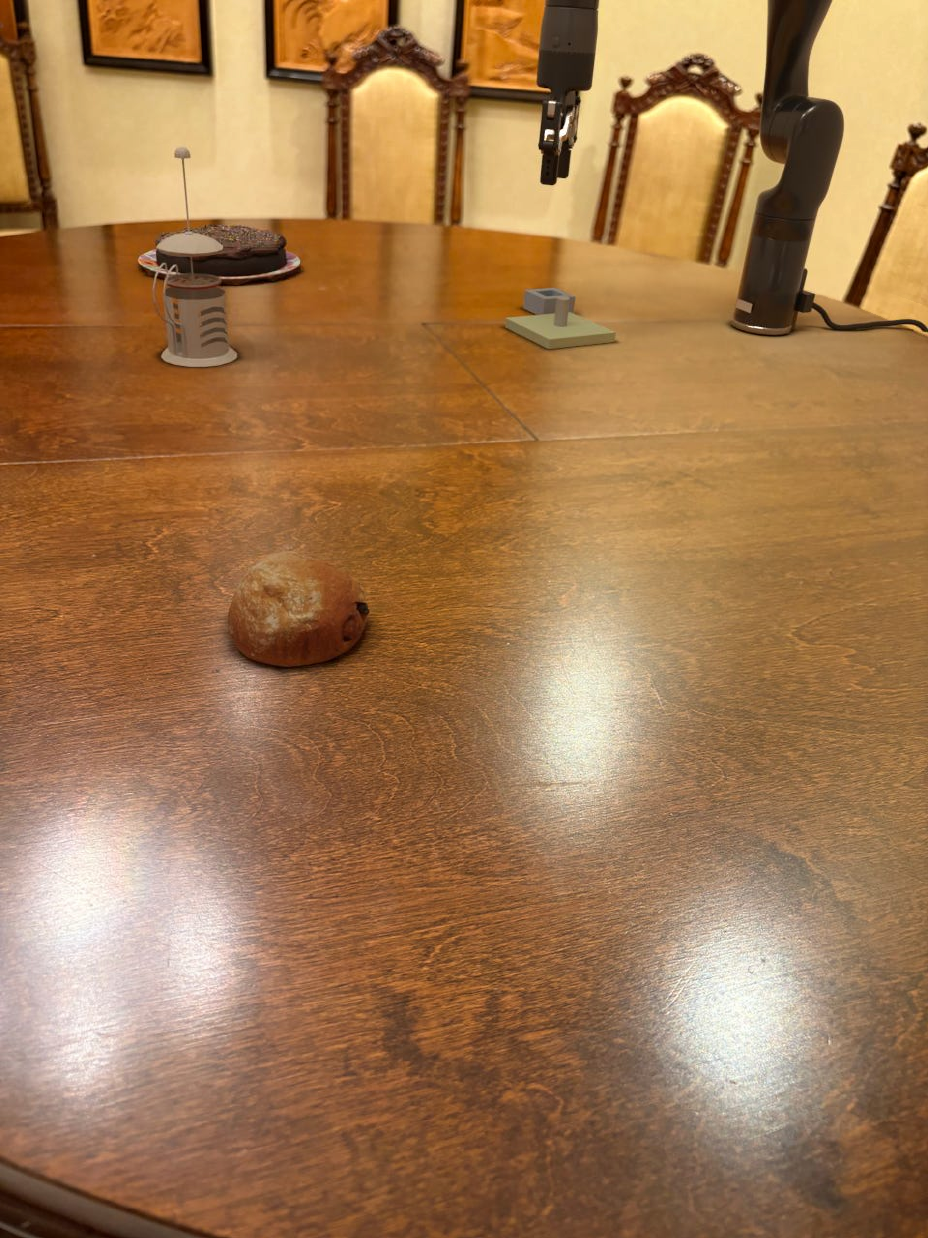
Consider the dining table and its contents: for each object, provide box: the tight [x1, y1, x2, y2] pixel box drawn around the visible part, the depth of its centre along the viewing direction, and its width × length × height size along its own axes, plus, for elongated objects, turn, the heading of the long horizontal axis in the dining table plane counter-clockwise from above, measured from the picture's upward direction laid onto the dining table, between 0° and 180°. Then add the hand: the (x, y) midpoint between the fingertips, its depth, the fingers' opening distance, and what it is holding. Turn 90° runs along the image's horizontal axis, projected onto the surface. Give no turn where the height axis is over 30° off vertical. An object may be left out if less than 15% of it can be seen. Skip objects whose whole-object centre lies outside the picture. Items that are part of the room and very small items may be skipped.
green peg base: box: [504, 296, 617, 350], centre depth 146 cm, size 12×12×6 cm
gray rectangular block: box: [522, 287, 577, 315], centre depth 158 cm, size 6×6×3 cm
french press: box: [152, 146, 238, 368], centre depth 121 cm, size 10×12×25 cm
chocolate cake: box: [137, 223, 302, 286], centre depth 170 cm, size 28×28×7 cm
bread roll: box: [226, 550, 370, 668], centre depth 72 cm, size 10×10×8 cm
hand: (554, 180), depth 137 cm, fingers open, 8 cm apart
